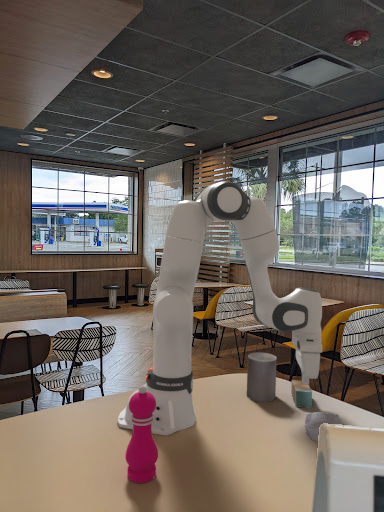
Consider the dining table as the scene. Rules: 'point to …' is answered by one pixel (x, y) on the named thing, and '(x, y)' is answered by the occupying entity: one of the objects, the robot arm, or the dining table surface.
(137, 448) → the pepper mill
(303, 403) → the walnut block
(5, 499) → the dining table surface
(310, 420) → the stone block
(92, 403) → the dining table surface
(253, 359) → the pillar candle
